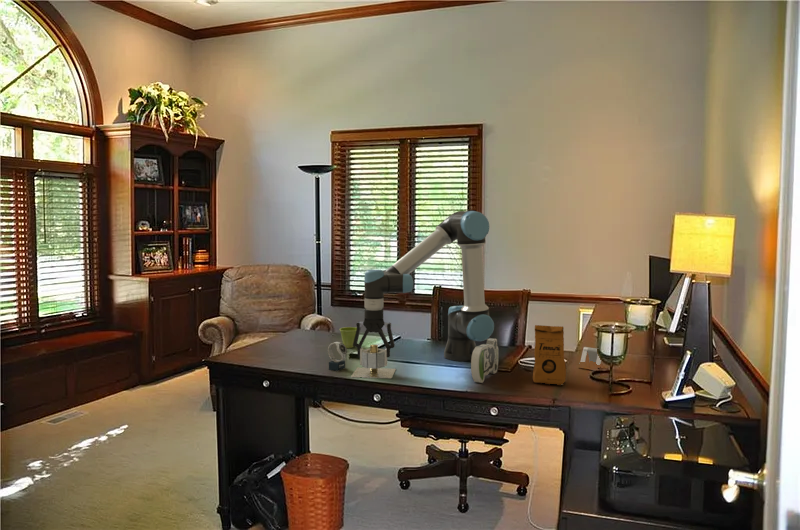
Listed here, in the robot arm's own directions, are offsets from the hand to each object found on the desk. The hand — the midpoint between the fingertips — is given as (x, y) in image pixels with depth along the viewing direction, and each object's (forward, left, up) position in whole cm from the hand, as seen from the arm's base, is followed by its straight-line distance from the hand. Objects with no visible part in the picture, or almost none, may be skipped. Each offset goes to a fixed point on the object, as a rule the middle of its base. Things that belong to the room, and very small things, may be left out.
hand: (373, 364), depth 251 cm
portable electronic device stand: (-88, -19, -4) cm, 90 cm away
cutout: (-44, +1, -4) cm, 44 cm away
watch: (+16, -5, -4) cm, 17 cm away
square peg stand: (0, 0, -3) cm, 3 cm away
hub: (0, 0, 0) cm, 1 cm away
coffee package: (-68, +5, -4) cm, 68 cm away
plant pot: (+19, -46, -4) cm, 50 cm away
